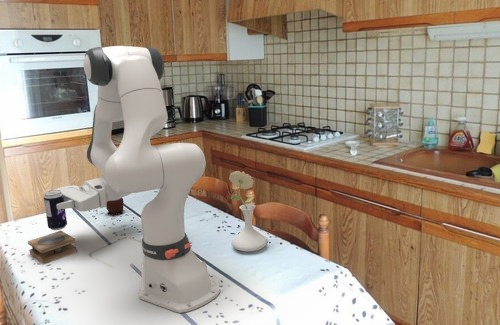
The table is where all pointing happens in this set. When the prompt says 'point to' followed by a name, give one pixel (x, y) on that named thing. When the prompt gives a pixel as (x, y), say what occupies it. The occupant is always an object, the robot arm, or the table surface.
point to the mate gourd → (115, 206)
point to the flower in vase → (246, 217)
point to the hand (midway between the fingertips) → (51, 204)
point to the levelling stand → (52, 246)
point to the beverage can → (54, 210)
